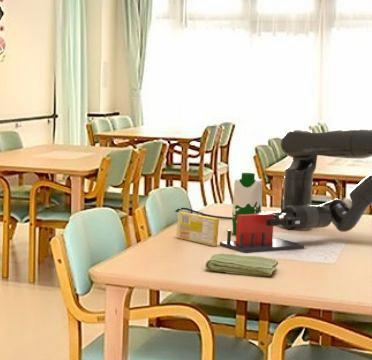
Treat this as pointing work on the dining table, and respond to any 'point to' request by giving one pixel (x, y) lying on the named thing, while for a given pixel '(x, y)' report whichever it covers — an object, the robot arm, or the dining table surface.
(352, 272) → the dining table surface
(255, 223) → the red rectangular block
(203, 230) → the candy box
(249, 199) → the milk carton
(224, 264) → the washcloth
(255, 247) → the dish rack
